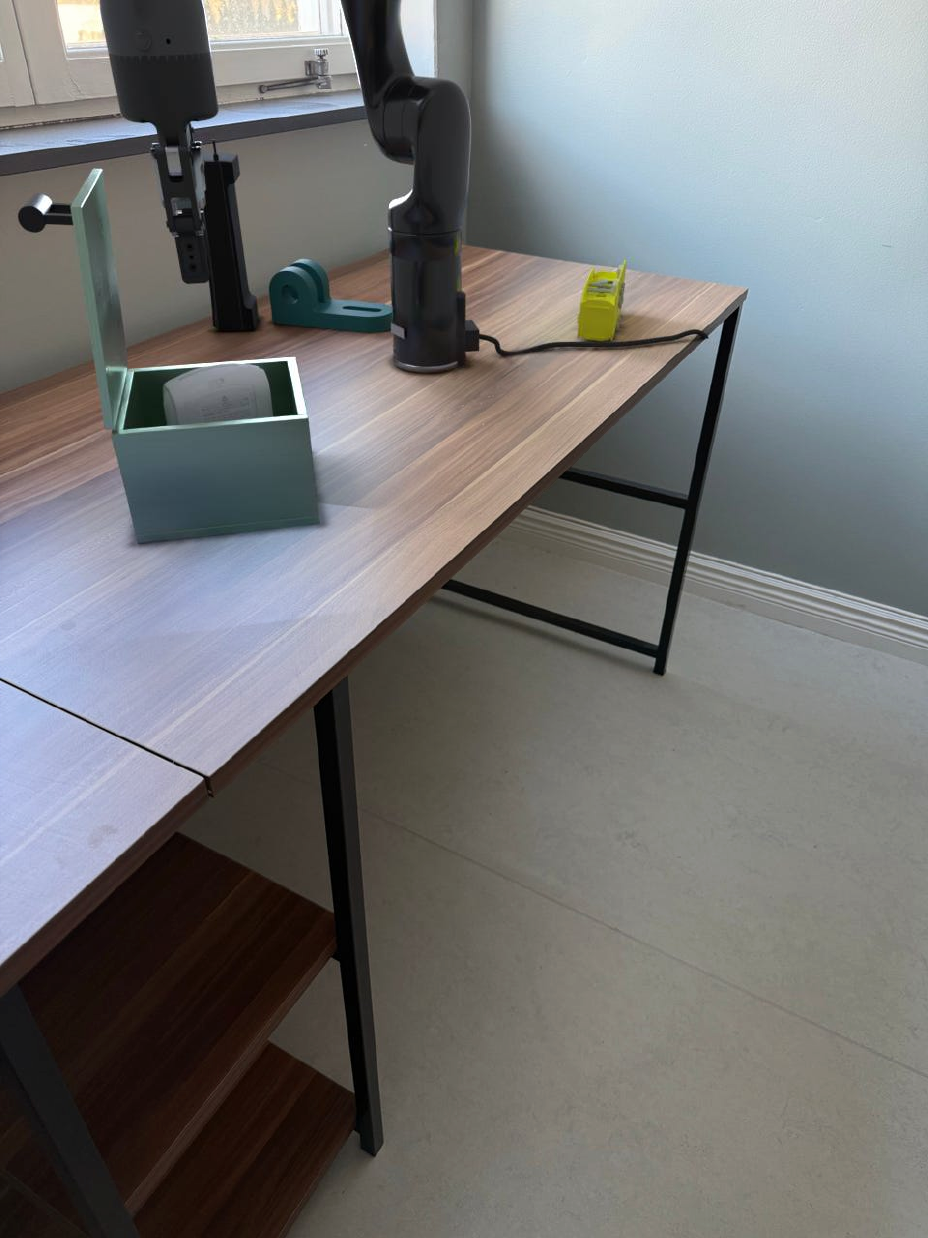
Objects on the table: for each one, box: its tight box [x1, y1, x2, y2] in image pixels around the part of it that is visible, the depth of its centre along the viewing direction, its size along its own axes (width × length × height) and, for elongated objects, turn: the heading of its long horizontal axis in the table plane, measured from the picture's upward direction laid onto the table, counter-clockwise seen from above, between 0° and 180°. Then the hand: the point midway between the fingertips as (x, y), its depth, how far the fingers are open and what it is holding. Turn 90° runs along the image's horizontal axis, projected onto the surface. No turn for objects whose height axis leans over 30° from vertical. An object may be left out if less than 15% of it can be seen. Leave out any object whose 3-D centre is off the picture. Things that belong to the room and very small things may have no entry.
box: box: [110, 356, 320, 544], centre depth 87 cm, size 17×16×11 cm
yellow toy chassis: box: [577, 259, 627, 342], centre depth 130 cm, size 16×6×8 cm, turn 167°
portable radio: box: [201, 138, 260, 332], centre depth 126 cm, size 8×6×25 cm
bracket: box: [268, 258, 392, 333], centre depth 132 cm, size 18×7×8 cm, turn 75°
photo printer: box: [163, 363, 273, 426], centre depth 86 cm, size 10×4×12 cm, turn 123°
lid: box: [17, 168, 129, 431], centre depth 76 cm, size 18×16×6 cm
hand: (197, 268), depth 77 cm, fingers open, 8 cm apart
